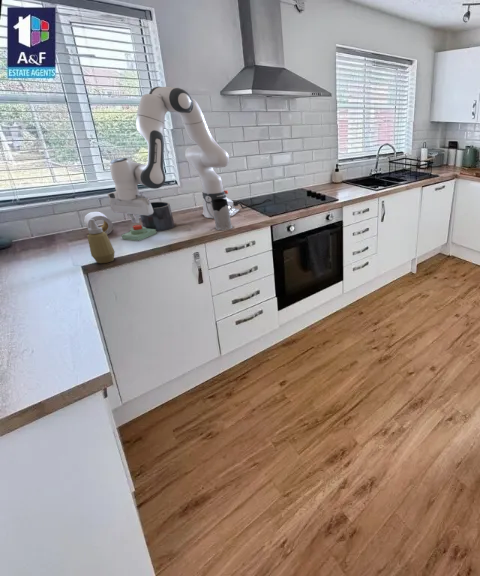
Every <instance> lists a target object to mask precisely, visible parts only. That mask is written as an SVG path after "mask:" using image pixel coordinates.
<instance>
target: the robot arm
mask: <svg viewBox="0 0 480 576" xmlns="http://www.w3.org/2000/svg"><path fill="white" fill-rule="evenodd" d="M202 111H203V110H202V109H201V106H200V105H199V103H198V102H197V100H196V99H194V98H193V97H192V96H191V95H190V93H188V91H186V90H184V89H183V88H180V87H174V86H155V87H153V88H152V89H150V91H149V93H145V94H143V95H142V96H141V97H140V99H139V103H138V107H137V111H136V118H135V126H136V130H137V132H138V134H139V135H140V136H141V137H142V138H143V139H144V140H145V142H146V144H147V163H146V164H145V163H139V162H136V161H133V160H131V159H129V158H127V157H118V158H114V159H112V160H111V161H110V162H109V170H110V175H111V178H112V181H113V183H114V189H115V190H114V191H112V192H109V193H107V197H108V199H109V200H108V201H109V206H110V209H111V211H112V212H113V213H116V214H127V217H128V218H129V219H130V221H131V223H132V224H140V222H141V220H140V219H141V218H140V215H151V214H153V212H154V211H153V208H152V205H151V203H150V202H151V201H150V198H149V197H148V196H146V195H141V194H140V192H139V188H138V185H142V186H145V187H148V188H150V189H160V188H162V187H163V186H164V185H165V183H166V179H167V178H166V174H165V173H166V172H165V170H164V156H165V140H164V139H165V138H164V127H165V120H166V119H165V117H166V115H167V113H168V112H169V113H178V114H179V116H180V119H181V123H182V124H183V127H184V129H185V132H186V135H187V137H188V138H189V140H190V141H192V142H193V143H195V145H192V146H188V147H187V148H186V149H185V152H184V156H185V160H186V161H187V162H188V163H189V165H191V166H192V167H193V169H194V170H195V171H196V173H197V175H198V178H199V180H200V184H201V190H202V198H203V200H202V208H203V209H202V210H203V211H202V215H203V216H204V218H207V219H213V217H214V213H213V208H212V205H211V203H210V202H207V201H211V202H212V200H214V199H227V203H228V207H229V213H230V218H231V217H233V216H234V215H236V214H237V213H238V212H239V211H240V208H238V206H239V205H240V207H241V208H242V209H246V208H250V207H252V206H253V207H254V206H258V205H261V204H262V203H265V202H267V201H270V202H271V201H272V199H270V198H267V199H265V200H262V201H261V202H257V203H252V204H248V205H247V206H243V205H242V203H240V202H239V201H238V200H234V199H231V198H229V197H227V195H228V194H229V191H228V190H224V186H223V180H222V177H221V175H219V174H218V173H217V172H216V171H215V170H214V169H222V168H226V167H227V166H228V165H229V163H230V155H229V153H228V151H227V150H226V149H225V148H223V147H221V146H220V145H219V144H218V142H217V141H216V140H215V138H214V137H213V135H212V134H211V132H210V129H209V126H208V123H207V121H206V119H205V115H204V114H203V112H202ZM206 202H207V206H208V209H209V211H210V213H211V214H212V216H213V217H212V216H211V215H210V214H209V212H208V210H207V207H206Z"/></svg>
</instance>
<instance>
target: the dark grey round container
mask: <svg viewBox="0 0 480 576" xmlns="http://www.w3.org/2000/svg"><path fill="white" fill-rule="evenodd" d="M150 203H151V205H152V208H153V211H154V212H153V214H151V215H140V218H139V219H140V222H141V226H142V227H146V228H148V229H156V232H164V231H168V230H171V229H173V228H175V227H176V226H175V221H174V216H173V212H172V207H171V203H169V202H167V201H150Z"/></svg>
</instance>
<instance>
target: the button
mask: <svg viewBox="0 0 480 576" xmlns="http://www.w3.org/2000/svg"><path fill="white" fill-rule="evenodd" d="M142 227H143V226H142V224H135V225H132V228H133V229H134V230H139V229H142Z"/></svg>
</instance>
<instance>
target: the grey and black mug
mask: <svg viewBox="0 0 480 576" xmlns="http://www.w3.org/2000/svg"><path fill="white" fill-rule="evenodd" d="M207 202H210V203H211V205H212V208H213V213H214V217H213V216H212V214H211V213H210V211H209V209H208V206H207ZM207 202H206V207H207V210H208V212H209V214H210V215H211V216H212V217H213V218H212V219H213V220H214V223H215V230H217V231H228V230H231V229H233V225H232V221H231V217H230V213H229V207H228V203H227V199H214V200H212V202H211V201H207Z"/></svg>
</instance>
